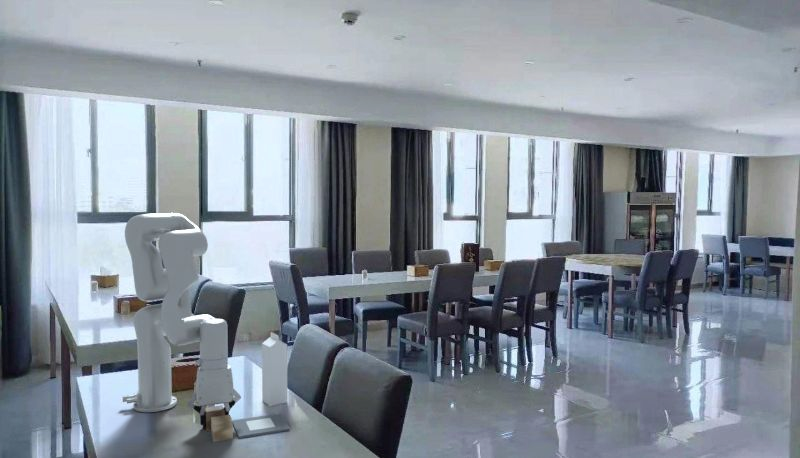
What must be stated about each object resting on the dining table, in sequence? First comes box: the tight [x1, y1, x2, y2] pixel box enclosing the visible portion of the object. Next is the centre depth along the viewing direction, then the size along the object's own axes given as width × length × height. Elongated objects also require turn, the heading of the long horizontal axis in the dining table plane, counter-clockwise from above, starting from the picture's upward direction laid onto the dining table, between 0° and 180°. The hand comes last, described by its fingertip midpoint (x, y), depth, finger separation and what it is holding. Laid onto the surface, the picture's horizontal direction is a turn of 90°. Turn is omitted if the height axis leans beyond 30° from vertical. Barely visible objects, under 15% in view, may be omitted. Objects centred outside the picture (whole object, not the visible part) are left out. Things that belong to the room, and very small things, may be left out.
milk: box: [261, 332, 288, 407], centre depth 186 cm, size 6×6×22 cm
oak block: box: [210, 414, 234, 442], centre depth 160 cm, size 5×5×5 cm
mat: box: [232, 412, 290, 439], centre depth 167 cm, size 14×12×1 cm
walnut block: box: [205, 404, 225, 432], centre depth 167 cm, size 5×5×5 cm
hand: (214, 424), depth 167 cm, fingers closed on walnut block, 5 cm apart
